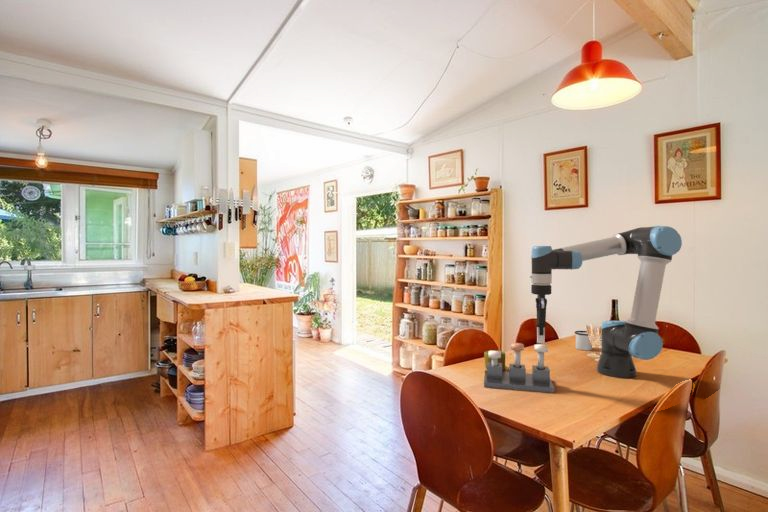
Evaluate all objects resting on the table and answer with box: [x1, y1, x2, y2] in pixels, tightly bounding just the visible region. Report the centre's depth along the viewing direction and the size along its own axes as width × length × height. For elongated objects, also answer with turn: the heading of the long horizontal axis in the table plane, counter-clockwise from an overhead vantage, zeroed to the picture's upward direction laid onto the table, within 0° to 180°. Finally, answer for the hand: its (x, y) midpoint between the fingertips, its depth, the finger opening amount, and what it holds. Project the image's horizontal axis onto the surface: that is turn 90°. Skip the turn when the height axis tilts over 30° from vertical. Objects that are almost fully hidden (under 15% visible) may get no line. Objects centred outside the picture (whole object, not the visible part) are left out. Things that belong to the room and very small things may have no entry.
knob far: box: [488, 350, 501, 366], centre depth 167 cm, size 5×5×10 cm
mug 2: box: [574, 330, 593, 352], centre depth 221 cm, size 12×10×9 cm
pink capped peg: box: [510, 342, 525, 368], centre depth 165 cm, size 5×5×10 cm
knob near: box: [533, 343, 549, 369], centre depth 163 cm, size 5×5×10 cm
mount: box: [483, 362, 555, 394], centre depth 165 cm, size 26×16×7 cm, turn 75°
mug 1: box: [483, 349, 506, 371], centre depth 185 cm, size 12×10×10 cm
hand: (540, 342), depth 163 cm, fingers closed
